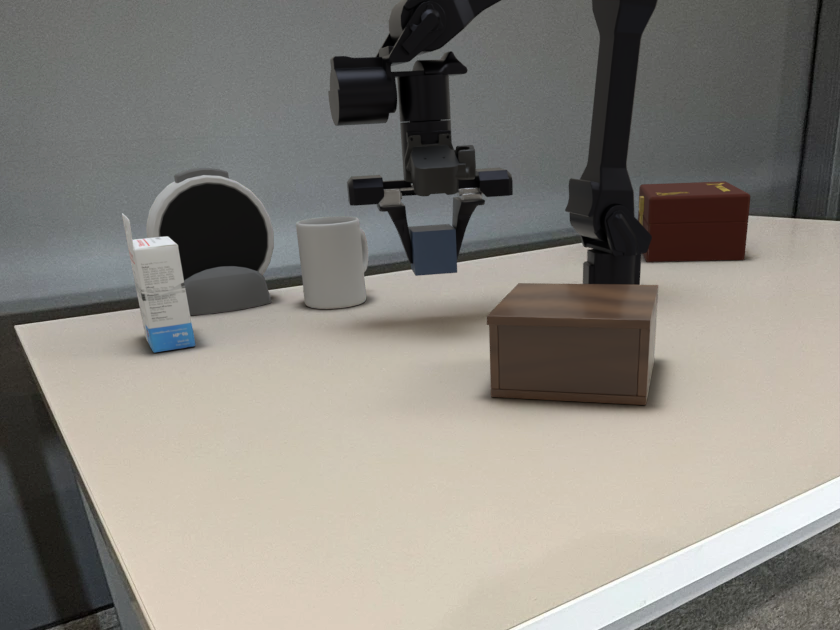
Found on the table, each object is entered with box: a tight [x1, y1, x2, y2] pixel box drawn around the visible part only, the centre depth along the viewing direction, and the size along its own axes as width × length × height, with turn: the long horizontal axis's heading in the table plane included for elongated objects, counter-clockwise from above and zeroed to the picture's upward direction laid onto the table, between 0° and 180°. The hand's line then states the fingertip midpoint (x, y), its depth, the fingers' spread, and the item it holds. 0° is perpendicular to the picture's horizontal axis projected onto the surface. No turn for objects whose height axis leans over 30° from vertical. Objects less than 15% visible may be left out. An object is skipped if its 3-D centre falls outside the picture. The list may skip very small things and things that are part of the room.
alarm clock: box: [145, 166, 275, 316], centre depth 108 cm, size 16×10×18 cm, turn 117°
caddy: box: [488, 294, 659, 406], centre depth 74 cm, size 13×14×7 cm
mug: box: [295, 215, 369, 310], centre depth 109 cm, size 12×8×11 cm
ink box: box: [121, 212, 196, 353], centre depth 91 cm, size 8×5×15 cm, turn 26°
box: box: [637, 180, 751, 263], centre depth 133 cm, size 21×16×10 cm
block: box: [408, 223, 458, 277], centre depth 95 cm, size 5×5×5 cm
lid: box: [486, 282, 659, 329], centre depth 72 cm, size 13×14×1 cm
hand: (433, 261), depth 95 cm, fingers closed on block, 5 cm apart
